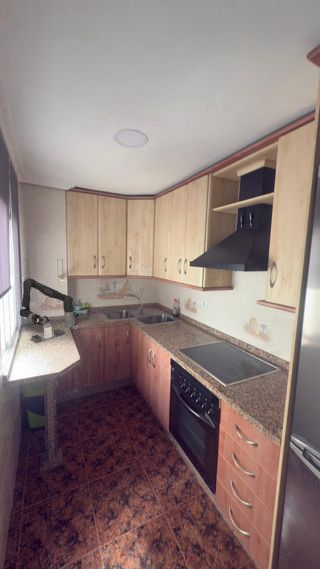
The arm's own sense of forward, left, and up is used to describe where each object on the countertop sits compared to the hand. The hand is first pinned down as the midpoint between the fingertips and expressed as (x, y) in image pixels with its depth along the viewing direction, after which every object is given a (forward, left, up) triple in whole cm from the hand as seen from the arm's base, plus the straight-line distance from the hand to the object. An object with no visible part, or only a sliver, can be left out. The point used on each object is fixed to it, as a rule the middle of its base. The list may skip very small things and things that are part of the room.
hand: (45, 322), depth 230 cm
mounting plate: (+3, +11, -12) cm, 16 cm away
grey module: (+3, +11, -11) cm, 16 cm away
